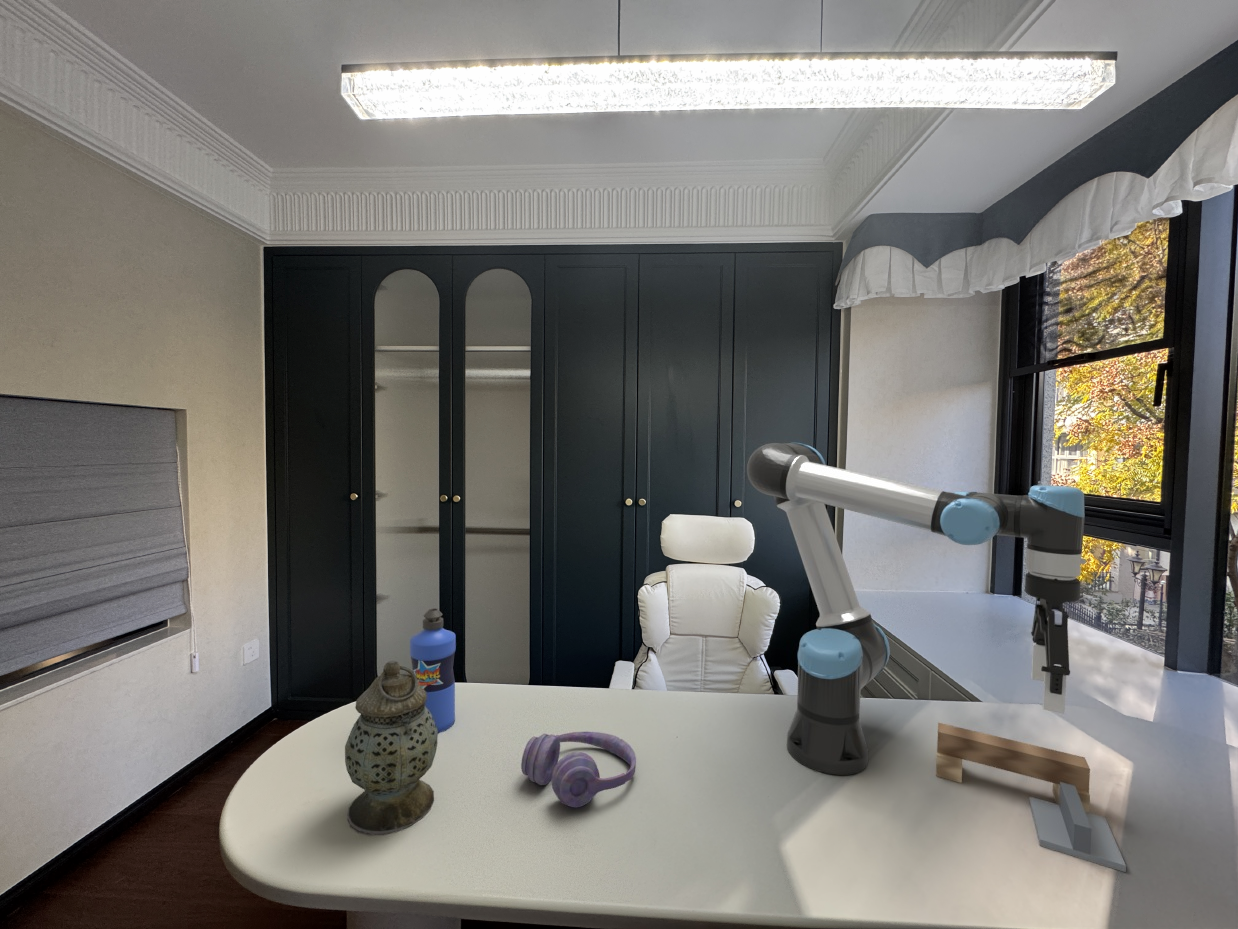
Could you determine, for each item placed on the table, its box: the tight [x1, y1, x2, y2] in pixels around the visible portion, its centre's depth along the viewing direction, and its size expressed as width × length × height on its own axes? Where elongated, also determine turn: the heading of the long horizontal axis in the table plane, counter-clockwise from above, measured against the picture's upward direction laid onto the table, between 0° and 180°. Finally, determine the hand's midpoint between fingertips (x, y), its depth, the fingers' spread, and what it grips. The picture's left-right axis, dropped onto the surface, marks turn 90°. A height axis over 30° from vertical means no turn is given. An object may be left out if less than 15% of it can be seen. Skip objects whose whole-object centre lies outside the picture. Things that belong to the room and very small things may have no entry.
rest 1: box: [935, 752, 963, 784], centre depth 104 cm, size 4×6×4 cm, turn 149°
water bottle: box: [409, 608, 457, 734], centre depth 118 cm, size 9×9×25 cm
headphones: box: [520, 731, 637, 808], centre depth 100 cm, size 18×8×20 cm
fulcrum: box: [1028, 782, 1127, 873], centre depth 87 cm, size 10×12×5 cm
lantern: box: [344, 660, 438, 836], centre depth 91 cm, size 14×14×25 cm
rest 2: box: [1051, 783, 1091, 813], centre depth 94 cm, size 4×6×4 cm, turn 149°
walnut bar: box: [936, 722, 1091, 793], centre depth 99 cm, size 22×4×4 cm, turn 59°
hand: (1046, 694), depth 96 cm, fingers open, 13 cm apart
